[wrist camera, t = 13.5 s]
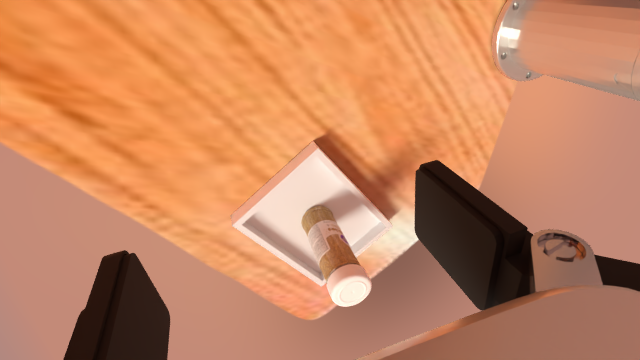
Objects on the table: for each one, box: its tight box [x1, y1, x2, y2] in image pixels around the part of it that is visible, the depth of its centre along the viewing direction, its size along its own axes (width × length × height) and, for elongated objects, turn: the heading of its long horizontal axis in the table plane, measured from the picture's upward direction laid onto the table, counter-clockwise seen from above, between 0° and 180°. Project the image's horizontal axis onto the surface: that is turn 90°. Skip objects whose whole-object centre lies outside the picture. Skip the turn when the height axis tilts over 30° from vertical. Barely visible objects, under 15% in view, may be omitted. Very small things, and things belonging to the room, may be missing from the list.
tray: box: [231, 141, 393, 287], centre depth 47 cm, size 18×14×2 cm
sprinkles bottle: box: [301, 206, 372, 307], centre depth 41 cm, size 5×5×13 cm
